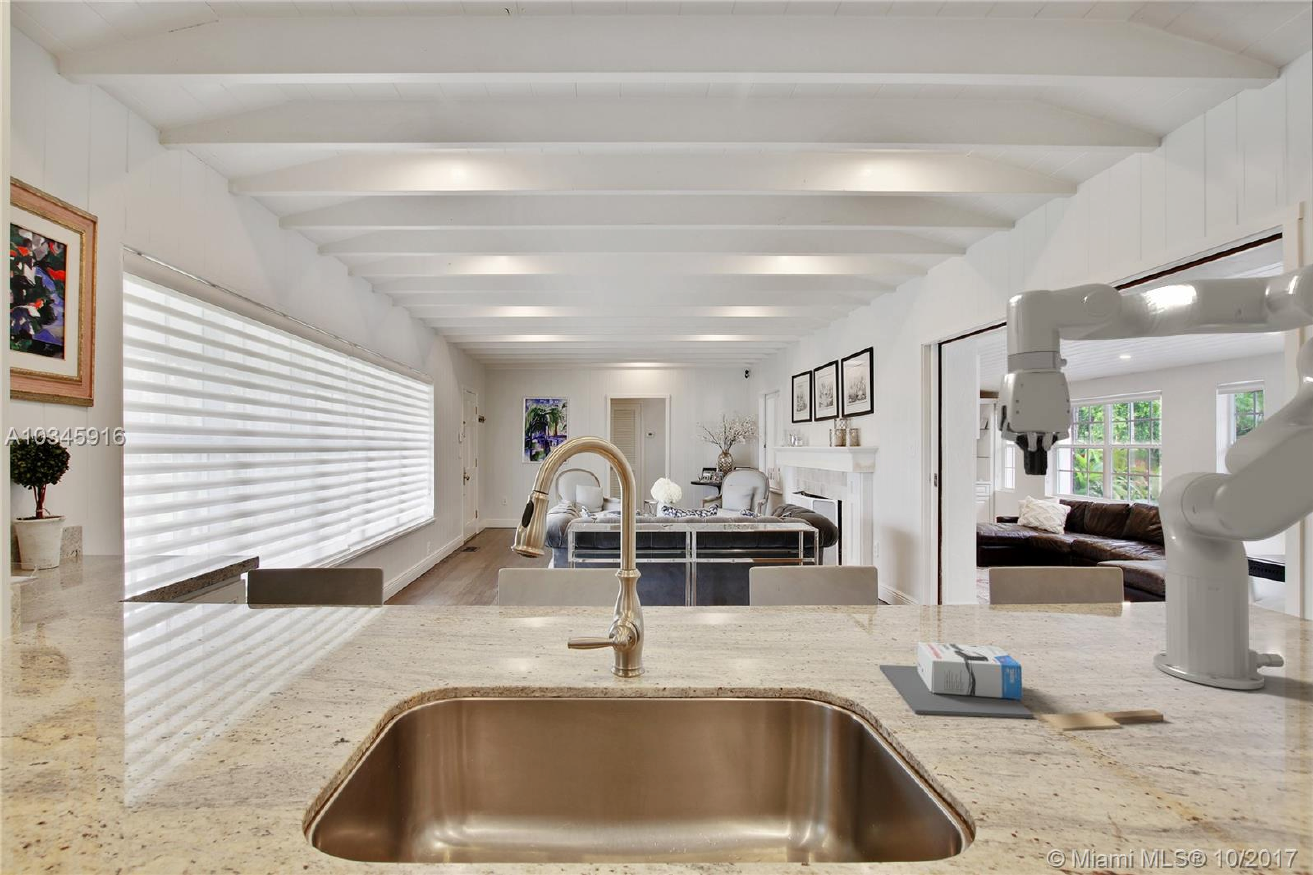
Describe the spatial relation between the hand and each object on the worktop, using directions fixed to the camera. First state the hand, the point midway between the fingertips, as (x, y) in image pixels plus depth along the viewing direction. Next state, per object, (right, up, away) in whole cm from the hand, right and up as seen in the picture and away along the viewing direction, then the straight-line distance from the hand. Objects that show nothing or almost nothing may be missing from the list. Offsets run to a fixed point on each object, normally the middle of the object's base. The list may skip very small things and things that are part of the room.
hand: (1035, 474), depth 98 cm
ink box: (-12, -28, -13) cm, 33 cm away
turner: (-6, -31, -22) cm, 38 cm away
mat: (-21, -31, -13) cm, 39 cm away
